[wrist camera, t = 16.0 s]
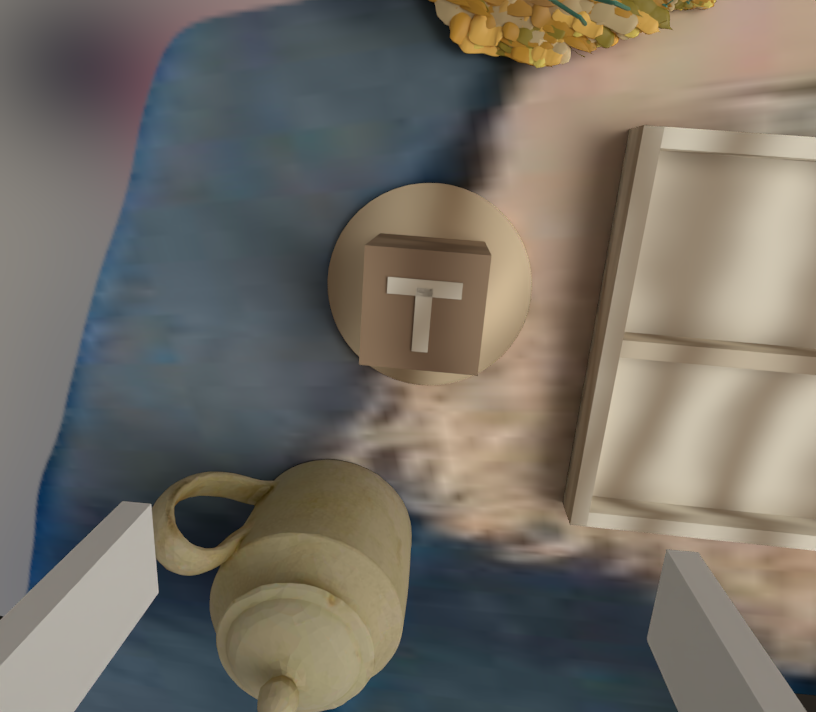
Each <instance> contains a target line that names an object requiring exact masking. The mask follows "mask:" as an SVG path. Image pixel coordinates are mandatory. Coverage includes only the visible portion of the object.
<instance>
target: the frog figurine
mask: <svg viewBox="0 0 816 712" xmlns="http://www.w3.org/2000/svg"><path fill="white" fill-rule="evenodd" d="M429 1H431V2H435V7H436V13H437V16H438V17H439V18H440V19H441V20H442V21H443V22H444V23H445V24H446V25H448V26H450V27H449V29H450V38H451V40H452V41H453V42H454V43H456V44H458V45H459V47H460V48H461V50H462V51H463V52H464V53H467V54H479V53H484V54H487V55H490V56H495V57H497V56H505V57H509V58H511V59H513V60H515V61H517V62H520V63H526V64H528V65H532V66H535V67H536V68H539V67H540V68H541V67H544V66H551V67H552V66H553V65H557V64H560V63H561V64H564V63H567V62H569V59H570V55H571V49H572V48H571V47H573V48H576V49H579V50H582V51H586V52H589V53H591V52H592V51H594V50H596V47H603V48H609V47H610V46H614V45H615V44H616V43H618V40H619V39H622V40H627V39H629V38H635V37H636V36H638V35H639V33H641V32H644V33H645V34H653V33H655V32H660V31H659V29H658V28H661V29H671V27H670V14H669V11H672V12H673V10H674V9H675V10H678V9H679V10H680V11H681V10H683V9H684V10H688V9H693V8H699V9H708V8H710V7H713V6H714V3H715V2H716V0H429ZM671 30H672V29H671ZM572 50H573V49H572ZM575 52H576V51H575ZM576 53H577V52H576ZM591 54H592V53H591ZM579 55H580V54H579ZM581 56H582V55H581ZM583 57H585V56H583Z"/></svg>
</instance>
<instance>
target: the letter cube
mask: <svg viewBox="0 0 816 712" xmlns="http://www.w3.org/2000/svg"><path fill="white" fill-rule="evenodd" d="M491 256H492V255H491V253H490V251H489V249H488V247H487V245H486V243H485V242H483V241H471V240H459V239H446V238H434V237H422V236H409V235H397V234H385V233H380V234H379V235H377V236H376V237H375V238H373V239H372V240H371V241H369V242H368V243H367V244H366V245H365V251H364V272H363V293H362V313H361V334H360V355H359V365H368V366H378V367H389V368H400V369H411V370H421V371H432V372H443V373H453V374H464V375H475V376H478V368H479V359H480V351H481V342H482V334H483V325H484V316H485V308H486V299H487V291H488V282H489V274H490V265H491Z"/></svg>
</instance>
